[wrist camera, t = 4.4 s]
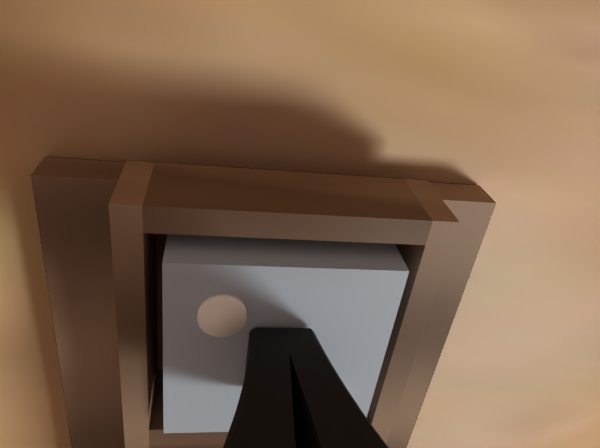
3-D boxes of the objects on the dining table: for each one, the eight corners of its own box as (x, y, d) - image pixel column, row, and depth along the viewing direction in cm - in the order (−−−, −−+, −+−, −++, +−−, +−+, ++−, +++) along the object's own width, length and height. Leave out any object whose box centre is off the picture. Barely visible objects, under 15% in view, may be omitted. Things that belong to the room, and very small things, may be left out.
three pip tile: (347, 369, 15) (365, 435, 13) (170, 370, 14) (162, 440, 12) (383, 222, 12) (412, 277, 10) (171, 211, 11) (160, 269, 9)
